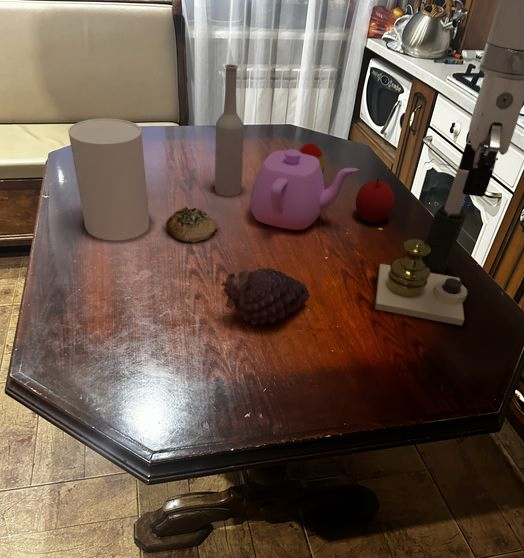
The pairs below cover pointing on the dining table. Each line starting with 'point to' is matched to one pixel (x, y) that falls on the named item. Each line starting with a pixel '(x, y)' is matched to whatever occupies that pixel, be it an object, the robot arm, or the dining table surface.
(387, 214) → the apple
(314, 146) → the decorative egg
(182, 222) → the bread roll
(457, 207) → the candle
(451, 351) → the dining table surface
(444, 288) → the dark round knob center
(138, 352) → the dining table surface
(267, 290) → the pine cone
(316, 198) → the teapot
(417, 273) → the brass cabinet knob
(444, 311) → the white base plate
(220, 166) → the bottle
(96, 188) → the canister
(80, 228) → the dining table surface
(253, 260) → the dining table surface
